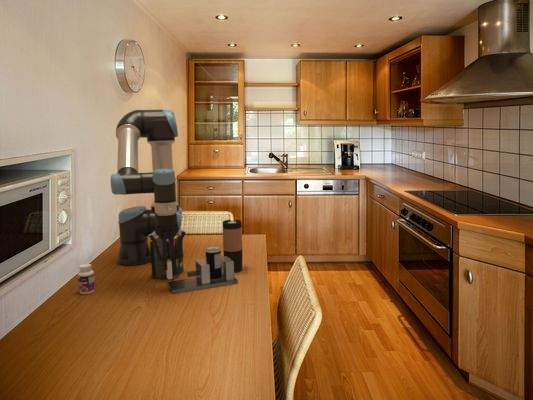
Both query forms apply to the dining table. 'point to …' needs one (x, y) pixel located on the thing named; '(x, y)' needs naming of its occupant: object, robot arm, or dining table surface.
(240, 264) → the travel mug
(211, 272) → the beverage can
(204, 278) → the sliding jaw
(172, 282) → the vise base
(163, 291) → the dining table surface
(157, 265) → the tampon box
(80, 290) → the pill bottle
